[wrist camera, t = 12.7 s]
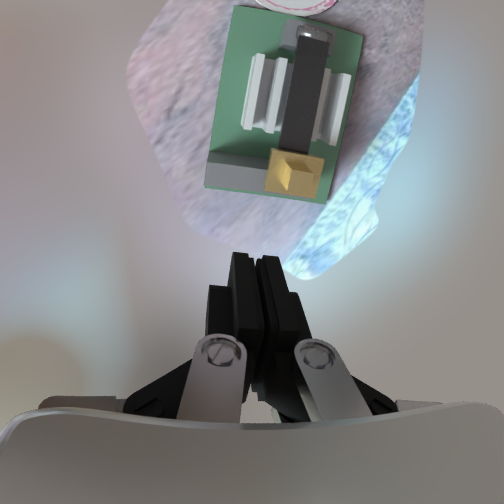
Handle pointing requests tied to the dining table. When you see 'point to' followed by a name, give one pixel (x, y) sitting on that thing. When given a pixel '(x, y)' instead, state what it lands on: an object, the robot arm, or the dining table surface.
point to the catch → (293, 173)
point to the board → (274, 100)
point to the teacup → (297, 6)
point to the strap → (304, 88)
